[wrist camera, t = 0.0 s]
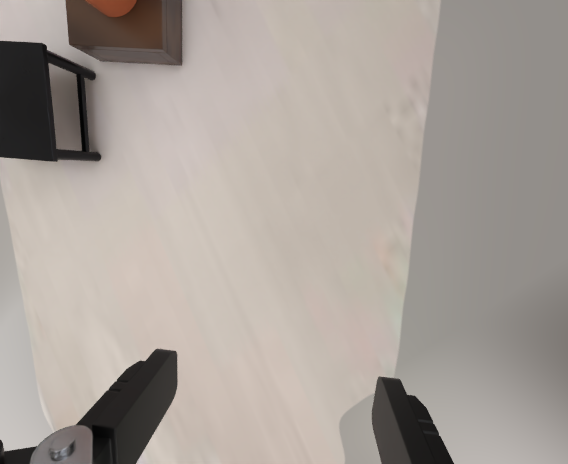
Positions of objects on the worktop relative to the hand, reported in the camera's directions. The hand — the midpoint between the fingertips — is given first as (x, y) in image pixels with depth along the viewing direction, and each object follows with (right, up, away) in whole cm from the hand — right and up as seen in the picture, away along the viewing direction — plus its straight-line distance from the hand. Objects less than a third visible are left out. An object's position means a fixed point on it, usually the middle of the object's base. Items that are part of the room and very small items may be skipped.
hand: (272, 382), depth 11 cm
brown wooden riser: (-18, +33, +24) cm, 45 cm away
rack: (-30, +22, +28) cm, 47 cm away
